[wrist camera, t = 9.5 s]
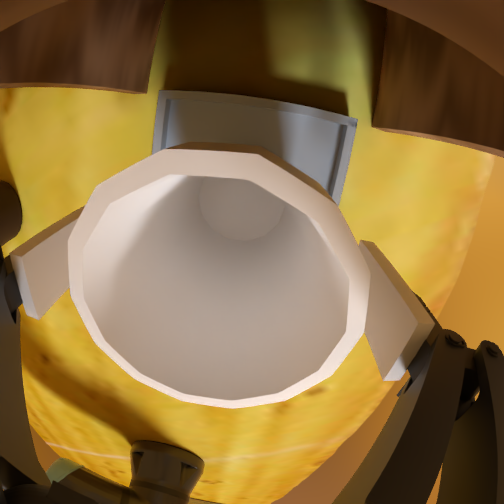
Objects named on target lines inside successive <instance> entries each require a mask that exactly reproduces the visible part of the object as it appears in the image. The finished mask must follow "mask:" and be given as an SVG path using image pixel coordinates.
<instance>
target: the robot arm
mask: <svg viewBox="0 0 504 504" xmlns="http://www.w3.org/2000/svg"><path fill="white" fill-rule="evenodd" d="M84 207H85V206H83V207H81V208H80V209H78V210H76V211H74V212H73V213H71V214H69V215H67V216H66V217H64V218H62V219H61V220H59V221H57V222H56V223H54V224H53V225H51V226H49V227H48V228H46V229H45V230H43V231H41V232H40V233H38V234H37V235H35V236H34V237H32V238H31V239H29V240H28V241H26V242H25V243H23V244H22V245H20V246H19V247H18V248H16V249H15V250H13V251H12V252H10V253H9V254H10V255H9V256H7V257H6V258H5V259H4V257H3V252H2V248H1V243H0V504H189V497H190V494H191V492H192V490H193V489H194V487H195V485H196V484H197V482H198V480H199V479H200V477H201V475H202V474H203V469H204V462H203V461H202V460H201V459H200V458H199V457H197V456H195V455H193V454H191V453H189V452H187V451H184V450H182V449H179V448H176V447H173V446H169V445H166V444H162V443H157V442H151V441H136V442H134V443H133V445H132V448H131V452H130V457H131V472H132V479H131V482H130V486H129V487H126V486H124V485H121V484H119V483H117V482H114V481H112V480H110V479H107V478H105V477H103V476H101V475H99V474H97V473H95V472H93V471H91V470H89V469H87V468H85V467H84V466H83V465H79V464H77V463H75V462H73V461H71V460H69V459H67V458H59V459H57V460H56V461H55V462H54V463H53V464H52V465H51V466H50V468H49V469H48V470H47V472H46V473H45V471H44V470H43V468H42V467H41V465H40V463H39V461H38V459H37V455H36V452H35V448H34V444H33V440H32V435H31V431H30V426H29V421H28V415H27V409H26V403H25V396H24V388H23V379H22V367H21V349H20V312H19V309H18V307H19V306H20V305H21V304H22V303H23V305H24V308H25V311H26V314H27V315H28V316H30V317H33V318H35V319H38V320H40V318H41V317H42V316H43V315H44V314H45V313H46V312H47V311H48V309H49V308H50V307H51V306H52V305H53V304H54V303H55V302H56V301H57V300H58V299H59V298H60V297H61V295H62V294H63V293H64V292H65V291H66V290H67V289H68V288H69V287H70V284H69V267H68V239H69V237H70V235H71V233H72V231H73V229H74V227H75V225H76V223H77V221H78V219H79V217H80V215H81V213H82V211H83V209H84ZM359 248H360V250H361V253H362V255H363V257H364V259H365V261H366V263H367V265H368V267H369V270H370V272H371V277H370V288H369V297H368V306H367V314H366V322H365V329H364V332H365V335H366V337H367V340H368V342H369V345H370V347H371V350H372V352H373V355H374V357H375V360H376V363H377V365H378V368H379V371H380V374H381V376H382V379H383V381H392V380H400V379H401V377H402V376H403V375H404V373H405V372H406V370H407V369H408V371H409V373H410V376H411V377H410V378H409V379H408V381H407V382H406V384H405V385H404V386H403V387H402V389H401V390H400V391H399V393H398V394H397V396H398V397H399V396H400V397H399V399H398V401H397V403H396V405H395V407H394V409H393V411H392V413H391V415H390V416H389V418H388V420H387V422H386V424H385V426H384V427H383V429H382V431H381V433H380V434H379V436H378V438H377V440H376V441H375V443H374V444H373V446H372V448H371V449H370V451H369V453H368V454H367V456H366V457H365V459H364V460H363V462H362V463H361V465H360V466H359V468H358V470H357V471H356V472H355V474H354V475H353V477H352V478H351V479H350V481H349V482H348V483H347V485H346V486H345V487H344V489H343V490H342V491H341V493H340V494H339V495H338V497H337V498H336V499H335V500H334V502H333V503H332V504H426V502H427V500H428V498H429V496H430V493H431V491H432V489H433V486H434V484H435V481H436V479H437V476H438V474H439V471H440V468H441V465H442V463H443V465H442V473H441V481H440V487H439V493H438V499H437V503H436V504H504V356H503V354H502V351H501V350H500V349H499V347H498V346H497V345H495V343H493V342H490V341H486V340H484V341H482V342H481V343H480V345H479V346H478V348H477V349H476V350H474V349H470V348H467V345H466V342H465V341H464V339H463V338H462V337H461V336H460V335H459V334H457V333H456V332H454V331H451V330H448V329H442V327H441V326H440V324H439V323H438V321H437V320H436V319H435V317H434V316H433V314H432V313H430V310H429V309H428V307H426V305H425V303H424V302H423V300H422V299H421V298H420V297H419V296H418V295H416V294H415V293H414V292H413V291H412V290H411V289H410V288H409V286H408V285H407V284H406V282H405V281H404V280H403V278H402V277H401V276H400V275H399V273H398V272H397V271H396V269H395V268H394V267H393V266H392V264H391V263H390V262H389V261H388V259H387V258H386V257H385V256H384V254H383V253H382V252H381V251H380V250H379V248H378V247H377V246H376V245H375V244H374V242H369V241H364V240H360V243H359ZM479 391H480V392H479ZM478 392H479V396H478V398H477V400H476V401H475V396H476V394H477V393H478ZM3 489H4V491H3Z"/></svg>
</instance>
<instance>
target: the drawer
mask: <svg viewBox="0 0 504 504" xmlns="http://www.w3.org/2000/svg"><path fill="white" fill-rule="evenodd" d="M357 121H358V119H355V118H352V117H348V116H344V115H341V114H337V113H333V112H329V111H325V110H321V109H316V108H312V107H307V106H303V105H298V104H293V103H288V102H282V101H276V100H271V99H264V98H257V97H250V96H243V95H234V94H225V93H213V92H200V91H179V90H159V96H158V103H157V111H156V119H155V129H154V139H153V150H152V155H153V154H155V153H157V152H159V151H161V150H163V149H166V148H169V147H172V146H176V145H179V144H183V143H187V142H190V141H193V142H215V143H231V144H244V145H255V146H261V147H263V148H265V149H266V150H268V151H270V152H271V153H273V154H275V155H276V156H278V157H280V158H281V159H283V160H284V161H286V162H288V163H289V164H291V165H292V166H294V167H296V168H297V169H299V170H300V171H302V172H303V173H305V174H306V175H308V176H309V177H311V178H312V179H314V180H315V181H317V182H318V183H320V184H321V186H322V187H323V188H324V189H325V190H326V192H327V193H328V194H329V195H330V197H331V198H332V199H333V200H334V201H335V203H336V204H337V205H338V206H339V202H340V198H341V194H342V190H343V186H344V182H345V178H346V173H347V169H348V165H349V160H350V156H351V151H352V146H353V141H354V136H355V131H356V126H357Z"/></svg>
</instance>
